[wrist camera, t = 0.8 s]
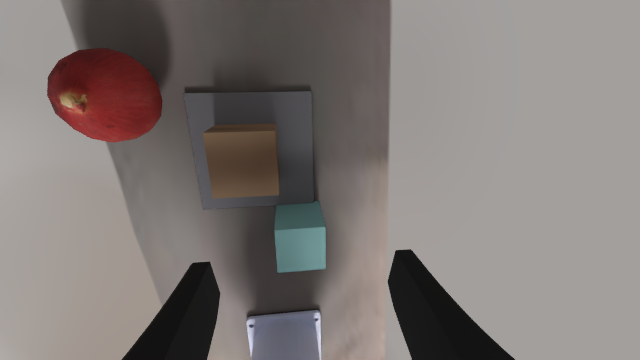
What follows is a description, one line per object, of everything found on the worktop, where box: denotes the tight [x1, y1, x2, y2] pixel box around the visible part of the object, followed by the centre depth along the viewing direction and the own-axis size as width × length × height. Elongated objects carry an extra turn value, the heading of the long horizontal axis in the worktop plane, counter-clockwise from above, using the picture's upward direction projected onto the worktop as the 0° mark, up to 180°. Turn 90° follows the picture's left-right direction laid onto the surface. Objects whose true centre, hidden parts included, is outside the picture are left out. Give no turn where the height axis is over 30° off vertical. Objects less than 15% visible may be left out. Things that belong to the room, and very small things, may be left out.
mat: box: [183, 91, 314, 210], centre depth 24 cm, size 10×10×1 cm
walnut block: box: [203, 123, 280, 199], centre depth 22 cm, size 5×5×4 cm
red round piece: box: [47, 48, 162, 142], centre depth 18 cm, size 6×6×8 cm
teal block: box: [274, 201, 326, 273], centre depth 25 cm, size 4×4×5 cm
